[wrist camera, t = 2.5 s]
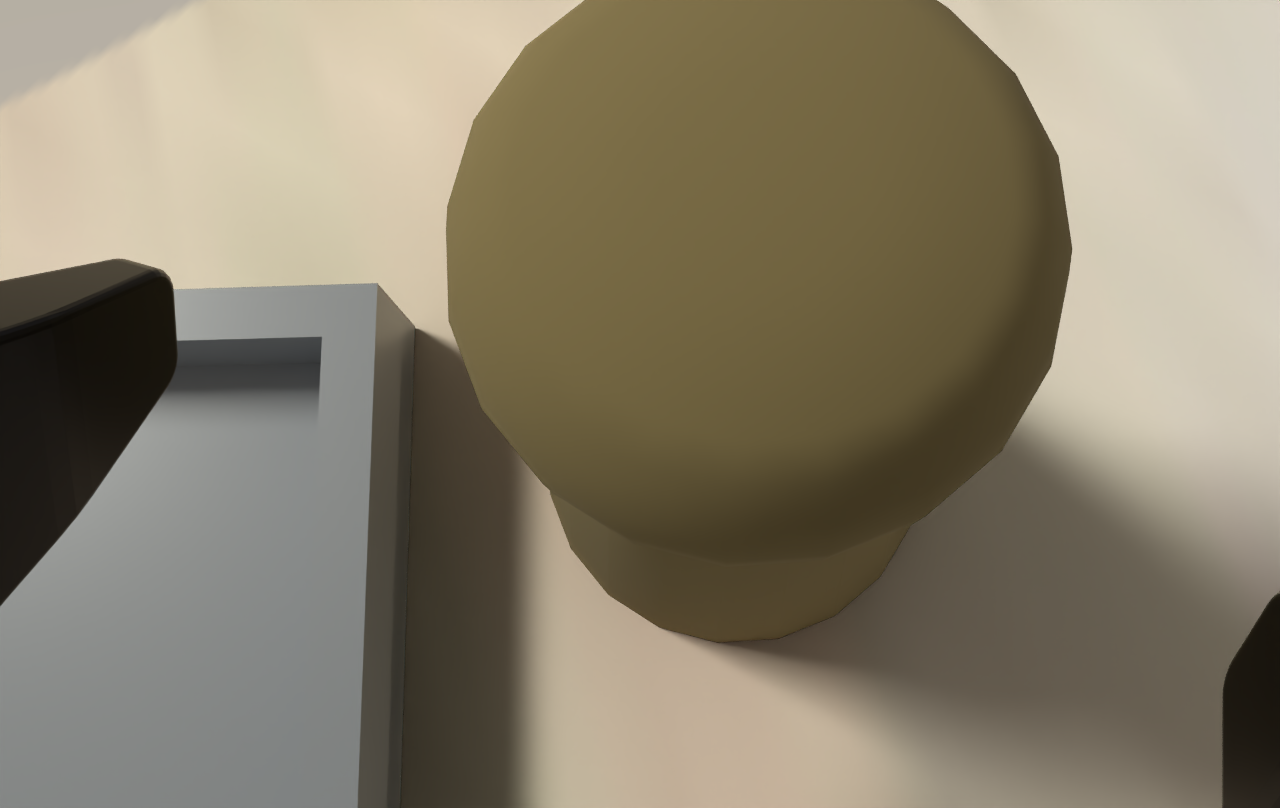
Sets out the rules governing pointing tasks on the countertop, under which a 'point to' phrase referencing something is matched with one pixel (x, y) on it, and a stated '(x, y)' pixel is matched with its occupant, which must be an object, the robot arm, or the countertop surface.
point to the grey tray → (231, 576)
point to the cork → (754, 289)
